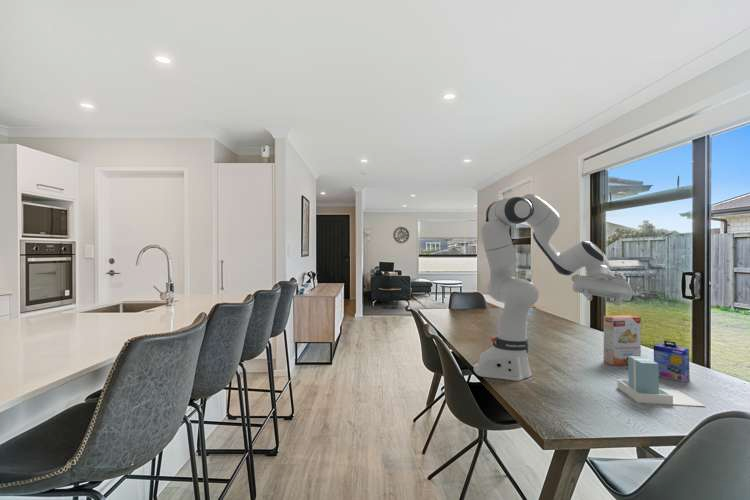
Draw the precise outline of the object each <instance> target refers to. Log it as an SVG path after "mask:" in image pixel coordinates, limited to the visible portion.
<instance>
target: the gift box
mask: <svg viewBox="0 0 750 500" xmlns="http://www.w3.org/2000/svg"><path fill="white" fill-rule="evenodd" d="M627 368H628V370H627V371H628V380H629V387H631V388H632V389H634V390H635V391H636V392H638V393H644V394H659V388H660V383H659V382H660V379H659V378H660V376H659V367H658V363H656V362H654V360H652V359H649V358H647V357H646V356H628V365H627Z"/></svg>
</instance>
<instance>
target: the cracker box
mask: <svg viewBox="0 0 750 500" xmlns="http://www.w3.org/2000/svg"><path fill="white" fill-rule="evenodd" d="M641 319H642V318H641V317H640V316H637V315H630V314H627V315H626V314H625V315H623V314H622V315H603V362H604V363H606V364H609V365H610V366H625V365H627V366H628V356H641V355H642V354H641V353H642V352H641V351H642V346H641V345H642V344H641V343H642V342H641V339H642V333H641V332H642V331H641V329H642V325H641V324H642V322H641ZM641 357H642V356H641Z"/></svg>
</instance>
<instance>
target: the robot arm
mask: <svg viewBox="0 0 750 500" xmlns="http://www.w3.org/2000/svg"><path fill="white" fill-rule="evenodd" d="M524 222H526V223H527V224H528V225H529V226H530V227H531V228H532V229H533V230H532V231H533V232H532V237H533V240H534V242H535V243H536V245H537V247H539V249H540V251H542V253H544V255H545V256H546V257H547V259H548V260H549V261H550V263H551V264H552V266H553V268H554V269H555V271H556V272H557V273H558V274H560V275H563V276H571V281H572V283H573V284H572V291H573V292H575V293H580V294H583V296H584V297H585V298H586V300H587V301H590V302H591V301H592V300H593V296H597V297H603V298H608V299H614V300H615V301H614V302H613V303H614V306H618V307H620V306H621V303H622V301H626V302H629V301H631V299H632V298H633V296H634V292H633V289H632V286H631V285H630V283H629V282H628V281H627V277H626V276H625V275H623V274H619V273H617V272H614V271H612V270H611V269H610V268H611V267H610V266H611V265H610V263H609V259H608V257H607V256H606V254H605V252H603V250H602V248H601V247H600V246H598V244H596V243H595V242H593V241H588V240H582V241H580V242H579V243H577V244H574V245H573V246H572V247H569V248H568V249H566V250H564V251H563V252H558V251H557V249H556V248H555V247H554V245H553V244H552V243H551V241H550V240H551V239H552V236H553V235H554V234H555V233H556V232H557V230H558V228H559V225H560V223H561V217H560V214H559V213H558V211H557V210H556V209H555V208H553V207H552V206H551V205H550V204H549V203H548V202H546V200H544V199H542V198H541V197H539V196H538V195H536V194H534V193H527V194H525V195H523V196H513V197H509V198H503V199H499V200H496V201H494V202H492V203H491V204H489V206H487V208H486V212H485V223H484V224H483V225H482V226H481V239H482V245H483V249H484V251H485V256H486V258H487V263H488V265H489V280H490V281H489V282H488V284H487V294H488V295H489V296H490V297H491V298H492V299H494V300H495V301H496V302H498V303H502V304H504V306H503V311H502V313H501V314H500V315H499V316H498V318H497V336H496V337H495V336H490V338H489V339H490V341H491V342H492V346H491V347H489V348H488V349H486V350H485V351H483V352H481V354H480V356H479V360H478V363H476V364H474V365H473V372H474V373H475V374H476V375H477V376H479V377H482V378H490V379H491V378H492V379H500V380H508V381H517V382H519V381H523V379H527V378H530V377H532V372H531V368H530V363H529V359H528V357H529V356H528V353H529V340H528V337H527V335H528V333H527V327H528V326H527V325H528V317H529V314H530V311H531V309H532V307H533V306H534V305H535V304H537V302H538V300H539V296H540V291H539V288H538V286H537V285H536V284H535V283H534V282H531V281H530V280H527V279H524V278H517V277H516V276H515V266H516V265H517V264H518V258H517V255H516V252H515V247H514V244H513V241H512V238H511V234H510V229H511V226H513V225H519V224H522V223H524ZM583 268H584V269H585V271H586V274H585V275H581V274H580V275H579V274H575V272H577V271H579V270H580V269H583ZM573 274H574V275H573Z"/></svg>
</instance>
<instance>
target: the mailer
mask: <svg viewBox="0 0 750 500" xmlns="http://www.w3.org/2000/svg"><path fill="white" fill-rule="evenodd" d="M616 381H617V383H616V385H617V389H619V390H620V391H622V392H623V393H624V394H625V395H626V396H628V397H629V398H630V399H632V400H633V401H635V402H636V403H638V404H647V405H649V404H651V405H652V404H653V405H668V406H683V407H684V406H685V407H697V406H699V408H706V405H704V404H703V403H701V402H699V401H698V400H695V399H694V398H692V397H690V396H689V395H687V394H685V393H683V392H681V391H680V390H678V389H665V388H660V387H659V394H644V393H638V392H636V391H635V390H634V389H632V388H631V387H629V379H620V378H619V379H616ZM700 406H701V407H700ZM702 406H703V407H702Z"/></svg>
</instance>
